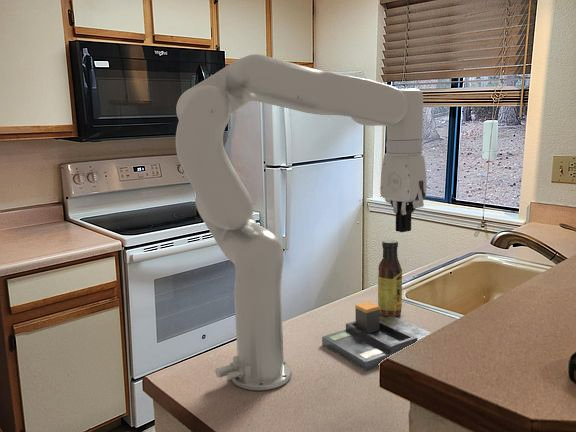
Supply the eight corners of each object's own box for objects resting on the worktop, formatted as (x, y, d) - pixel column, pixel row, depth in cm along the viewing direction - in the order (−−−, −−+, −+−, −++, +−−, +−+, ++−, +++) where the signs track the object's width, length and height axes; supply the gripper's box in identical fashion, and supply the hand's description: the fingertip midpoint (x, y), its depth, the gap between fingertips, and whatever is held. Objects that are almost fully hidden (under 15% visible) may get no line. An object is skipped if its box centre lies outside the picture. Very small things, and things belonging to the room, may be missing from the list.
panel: (365, 370, 111) (365, 355, 110) (322, 344, 124) (321, 330, 123) (439, 344, 122) (439, 330, 122) (392, 322, 135) (392, 310, 135)
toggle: (366, 334, 124) (366, 309, 123) (355, 328, 127) (355, 304, 126) (379, 330, 126) (379, 306, 125) (368, 324, 129) (368, 301, 128)
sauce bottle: (401, 318, 138) (402, 244, 134) (377, 317, 139) (377, 244, 135) (401, 309, 144) (402, 238, 140) (378, 308, 145) (378, 238, 142)
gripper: (368, 147, 118) (368, 227, 122) (417, 150, 106) (415, 239, 109) (393, 145, 122) (392, 223, 126) (443, 148, 110) (441, 234, 113)
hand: (403, 230), depth 117 cm, fingers closed
